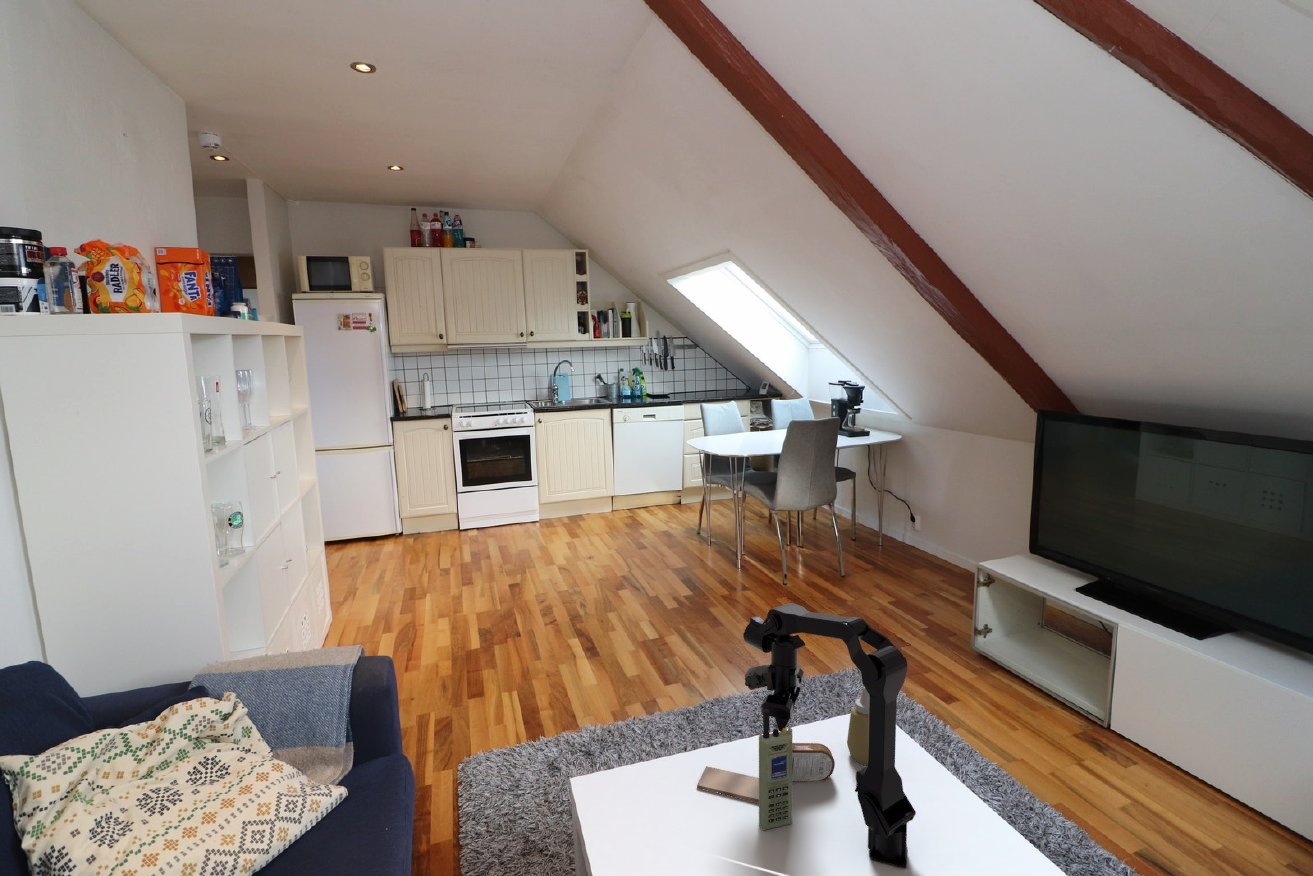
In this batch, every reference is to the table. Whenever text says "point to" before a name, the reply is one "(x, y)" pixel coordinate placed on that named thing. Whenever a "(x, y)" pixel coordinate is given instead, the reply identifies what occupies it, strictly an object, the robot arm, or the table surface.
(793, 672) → the robot arm
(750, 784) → the walnut board
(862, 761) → the squeeze bottle
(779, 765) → the handheld radio
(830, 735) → the table surface
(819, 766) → the tin
